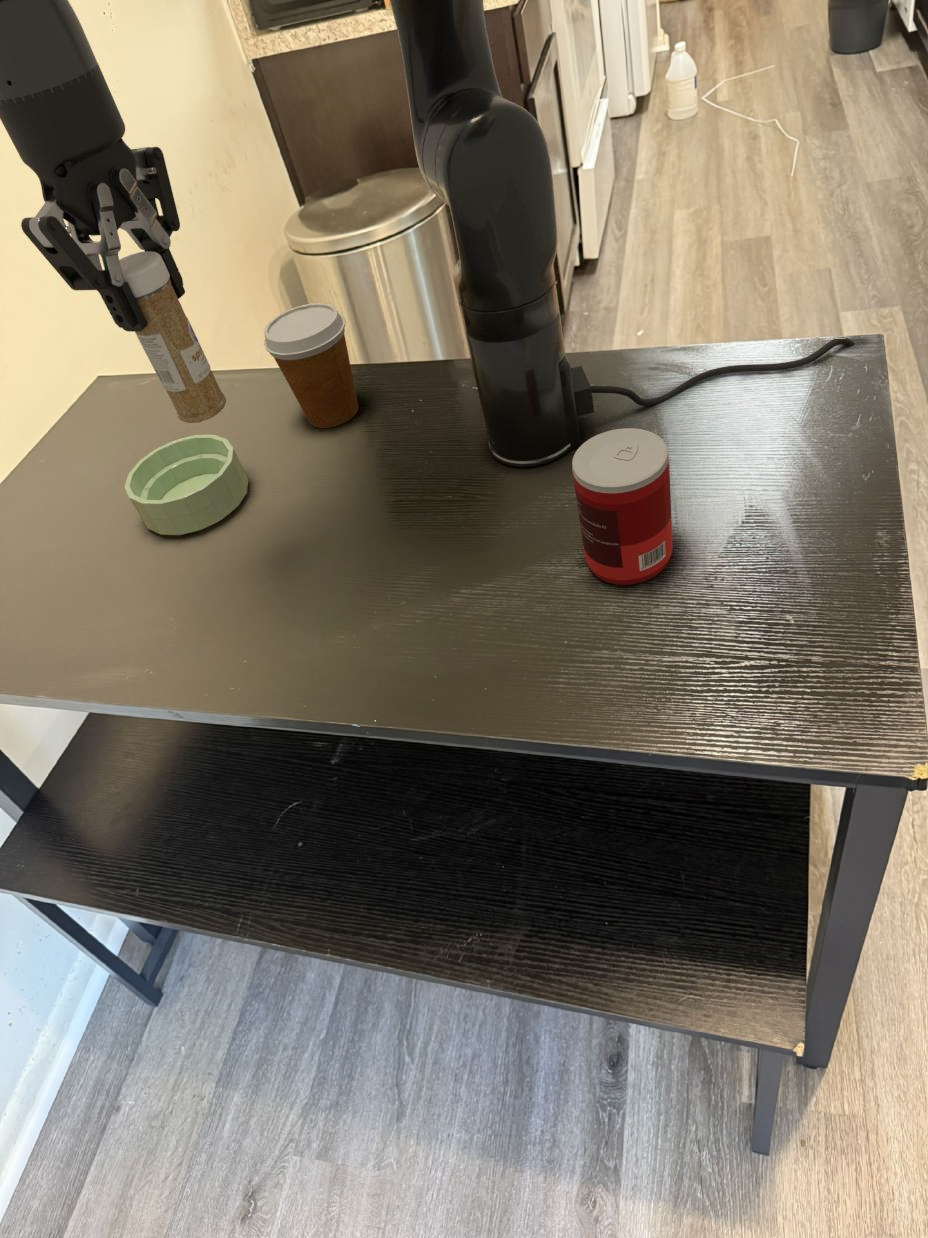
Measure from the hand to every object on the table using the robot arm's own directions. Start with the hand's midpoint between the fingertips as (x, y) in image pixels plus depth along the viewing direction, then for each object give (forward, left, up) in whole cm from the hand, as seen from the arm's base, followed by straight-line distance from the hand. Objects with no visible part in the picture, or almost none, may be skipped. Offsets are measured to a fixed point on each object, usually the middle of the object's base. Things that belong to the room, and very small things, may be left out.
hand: (155, 311), depth 70 cm
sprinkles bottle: (0, 0, -10) cm, 10 cm away
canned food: (-34, +13, -27) cm, 45 cm away
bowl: (+9, -12, -26) cm, 31 cm away
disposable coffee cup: (-7, -24, -27) cm, 37 cm away
